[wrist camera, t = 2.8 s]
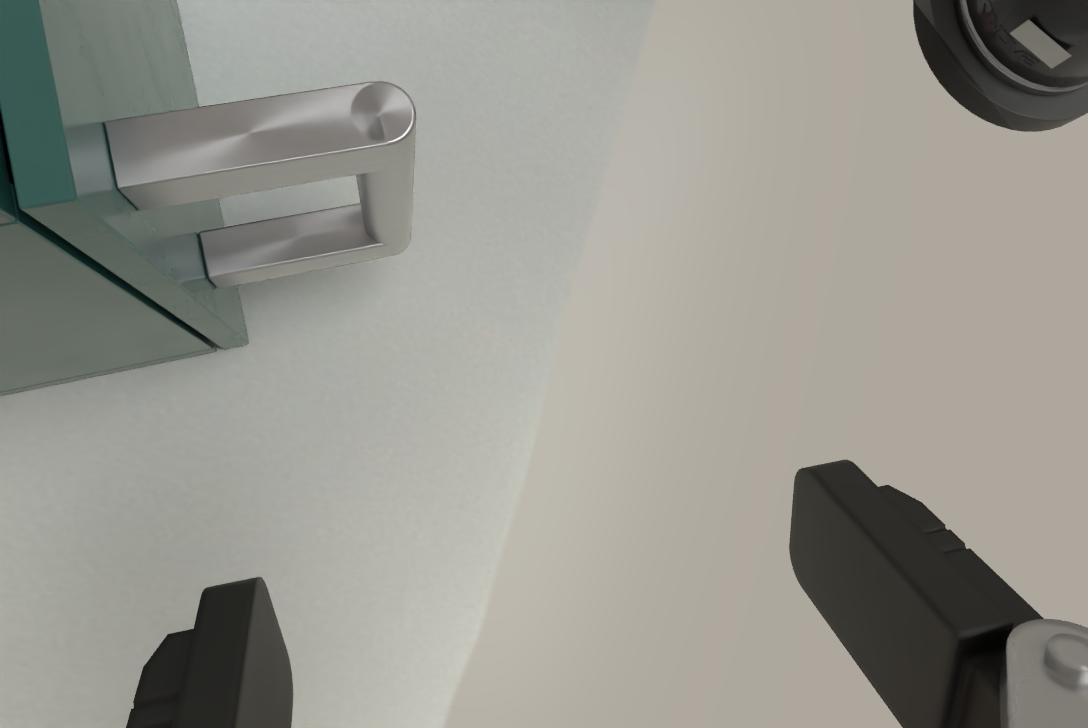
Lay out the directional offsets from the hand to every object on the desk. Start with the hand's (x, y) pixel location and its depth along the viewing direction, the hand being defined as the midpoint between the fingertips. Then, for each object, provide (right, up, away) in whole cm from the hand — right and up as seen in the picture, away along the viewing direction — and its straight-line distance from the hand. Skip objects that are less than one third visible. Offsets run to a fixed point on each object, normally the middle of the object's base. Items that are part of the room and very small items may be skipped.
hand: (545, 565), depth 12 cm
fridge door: (-11, +11, +21) cm, 26 cm away
